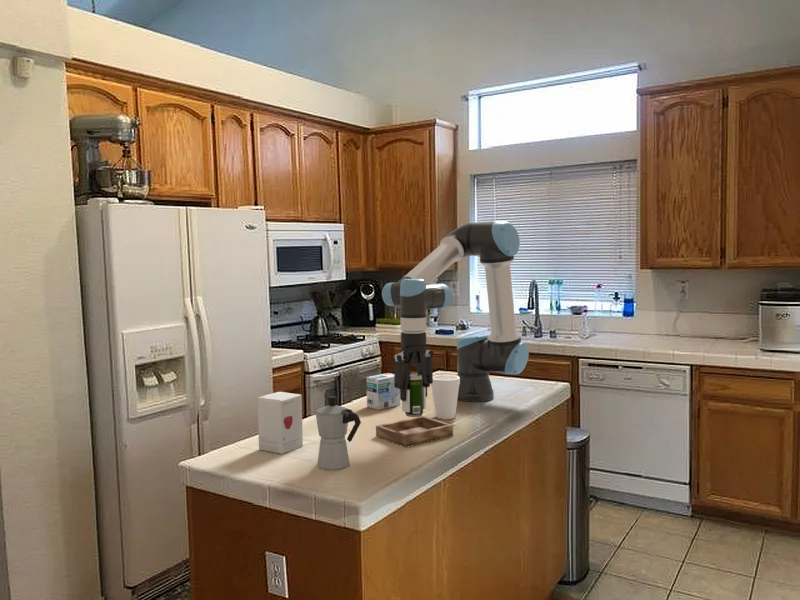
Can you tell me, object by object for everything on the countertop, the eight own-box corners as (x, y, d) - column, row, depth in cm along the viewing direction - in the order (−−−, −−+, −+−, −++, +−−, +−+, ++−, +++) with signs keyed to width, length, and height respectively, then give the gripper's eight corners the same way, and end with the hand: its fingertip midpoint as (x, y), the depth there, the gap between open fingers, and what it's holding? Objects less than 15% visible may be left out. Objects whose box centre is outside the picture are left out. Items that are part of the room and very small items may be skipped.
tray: (422, 425, 206) (422, 415, 206) (453, 435, 195) (452, 425, 195) (376, 436, 195) (375, 425, 195) (405, 447, 184) (405, 436, 184)
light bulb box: (378, 410, 226) (377, 379, 226) (366, 407, 231) (365, 376, 231) (401, 405, 234) (400, 375, 233) (388, 401, 239) (388, 372, 238)
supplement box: (282, 454, 179) (280, 400, 178) (258, 449, 184) (256, 397, 182) (304, 446, 186) (302, 394, 185) (280, 441, 191) (278, 390, 190)
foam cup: (457, 420, 211) (457, 380, 210) (429, 419, 213) (429, 380, 212) (461, 413, 221) (460, 375, 220) (433, 412, 223) (433, 374, 222)
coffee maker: (303, 466, 169) (301, 397, 168) (324, 456, 177) (323, 390, 175) (350, 475, 162) (349, 403, 160) (370, 465, 169) (369, 396, 168)
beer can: (426, 415, 193) (426, 375, 192) (410, 418, 191) (409, 377, 190) (417, 411, 198) (417, 372, 197) (401, 414, 196) (401, 374, 195)
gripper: (429, 328, 201) (429, 402, 203) (380, 333, 190) (381, 412, 192) (445, 330, 195) (445, 407, 197) (396, 335, 184) (397, 417, 186)
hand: (414, 409), depth 194 cm, fingers closed on beer can, 5 cm apart
